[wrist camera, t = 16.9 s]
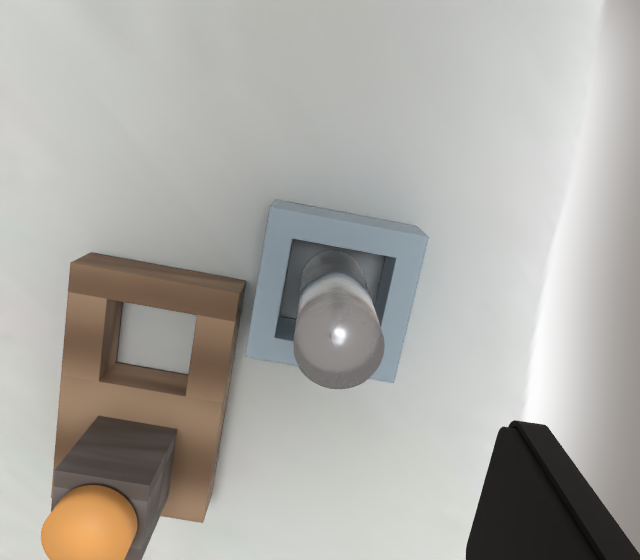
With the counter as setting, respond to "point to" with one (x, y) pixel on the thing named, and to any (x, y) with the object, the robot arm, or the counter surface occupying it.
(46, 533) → the release button
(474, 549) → the robot arm
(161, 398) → the socket block
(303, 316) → the grey smooth thick cylinder
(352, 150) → the counter surface
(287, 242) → the blue-grey square frame
